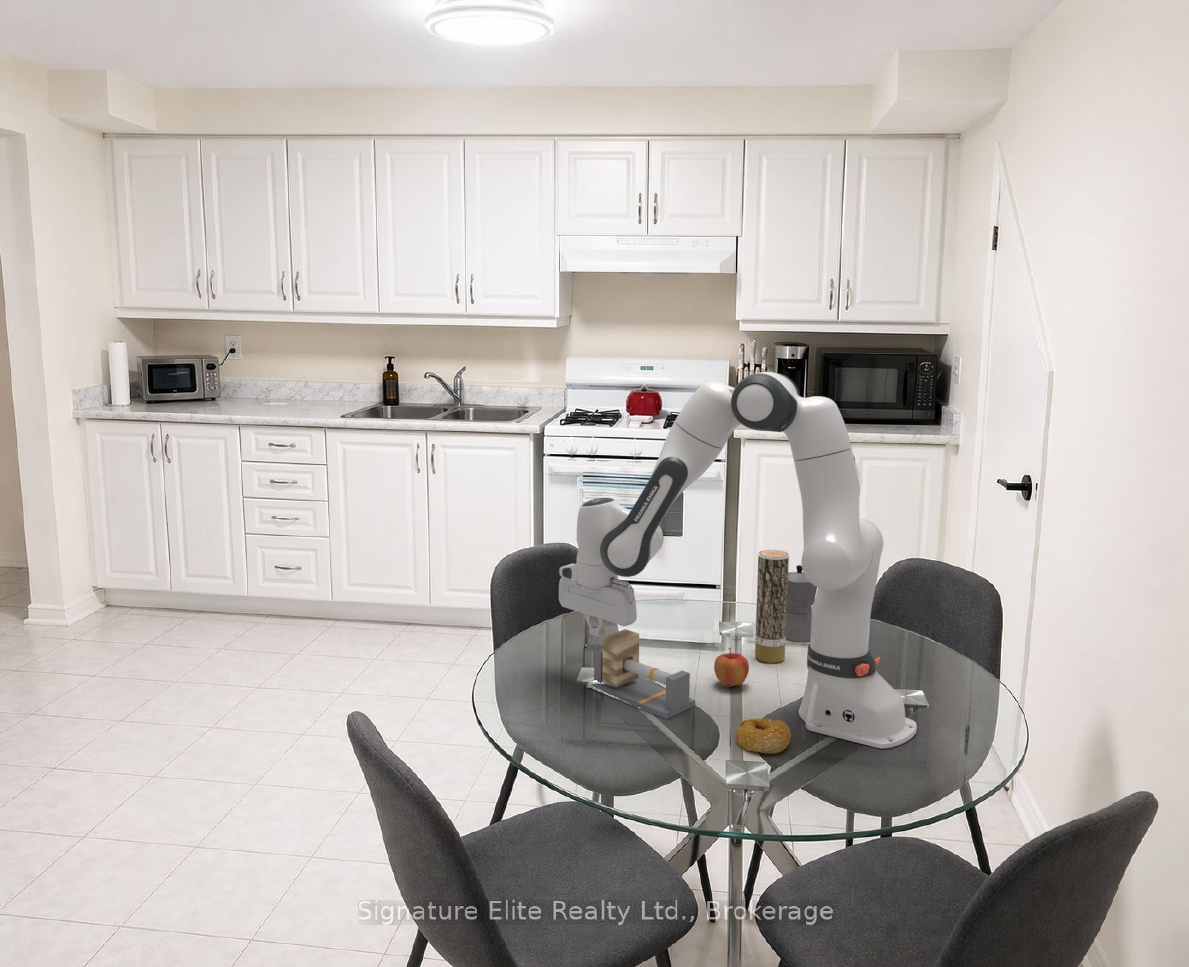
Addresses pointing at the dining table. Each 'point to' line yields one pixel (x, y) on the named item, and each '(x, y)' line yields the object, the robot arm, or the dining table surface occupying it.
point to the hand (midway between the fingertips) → (596, 635)
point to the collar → (619, 657)
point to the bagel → (763, 735)
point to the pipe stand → (649, 688)
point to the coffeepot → (799, 606)
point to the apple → (731, 669)
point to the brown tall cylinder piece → (771, 605)
